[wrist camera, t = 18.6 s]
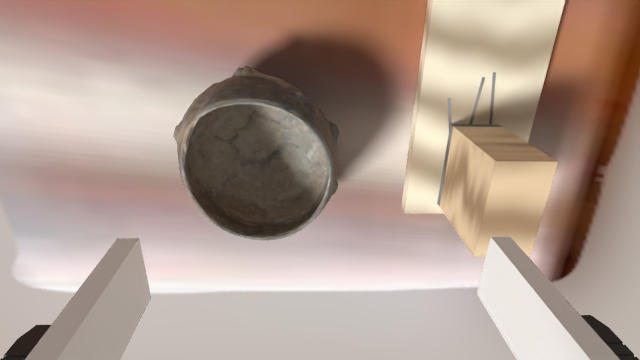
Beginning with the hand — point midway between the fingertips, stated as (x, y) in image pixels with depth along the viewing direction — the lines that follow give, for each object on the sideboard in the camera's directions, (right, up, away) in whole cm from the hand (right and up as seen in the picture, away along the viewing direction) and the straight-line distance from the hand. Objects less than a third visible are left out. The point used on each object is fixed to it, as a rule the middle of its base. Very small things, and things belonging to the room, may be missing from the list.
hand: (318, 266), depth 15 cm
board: (+16, +11, +25) cm, 32 cm away
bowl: (-5, +8, +26) cm, 28 cm away
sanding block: (+16, +5, +26) cm, 31 cm away
